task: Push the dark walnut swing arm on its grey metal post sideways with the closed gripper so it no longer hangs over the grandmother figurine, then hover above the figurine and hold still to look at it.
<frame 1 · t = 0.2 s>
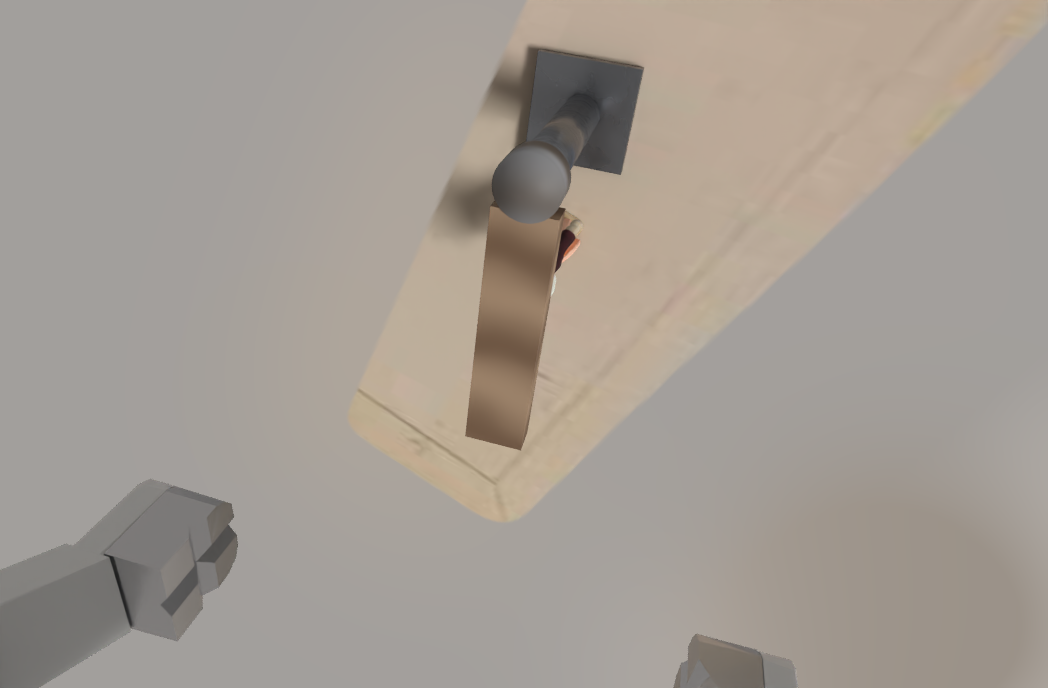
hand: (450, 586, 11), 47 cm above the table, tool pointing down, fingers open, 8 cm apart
swing arm: (514, 309, 42), point 19 cm above the table, hinge at 0.0°
arm post: (582, 111, 53), on the table
grandmother figurine: (562, 228, 59), on the table
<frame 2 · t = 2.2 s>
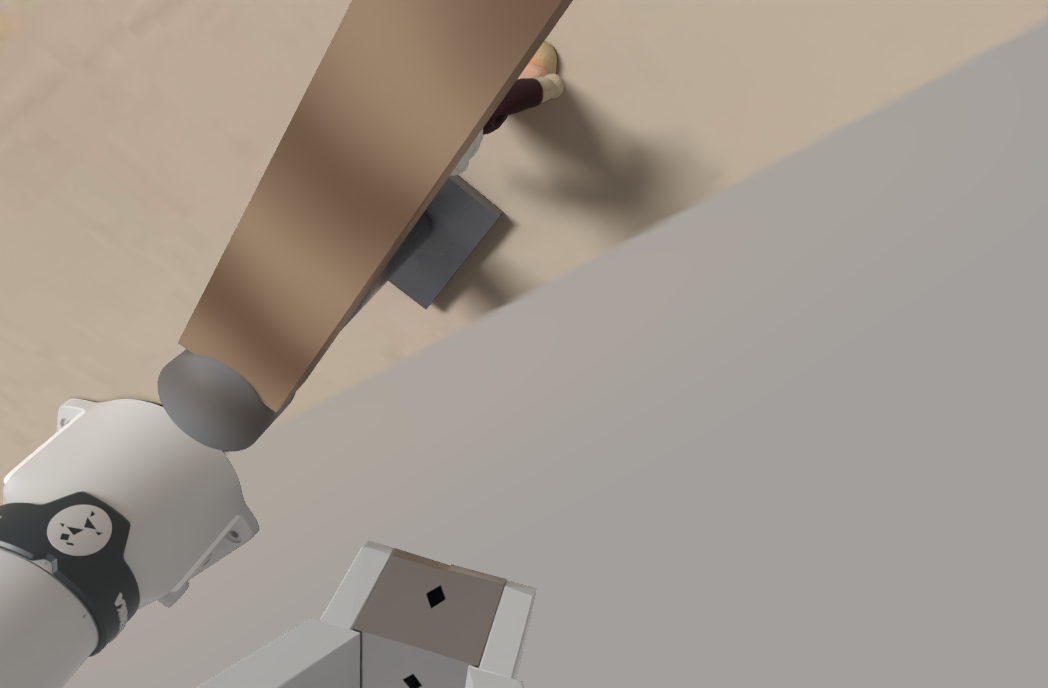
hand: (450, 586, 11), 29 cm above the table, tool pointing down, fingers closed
swing arm: (326, 228, 20), point 19 cm above the table, hinge at 0.0°
arm post: (412, 217, 40), on the table
grandmother figurine: (509, 79, 35), on the table
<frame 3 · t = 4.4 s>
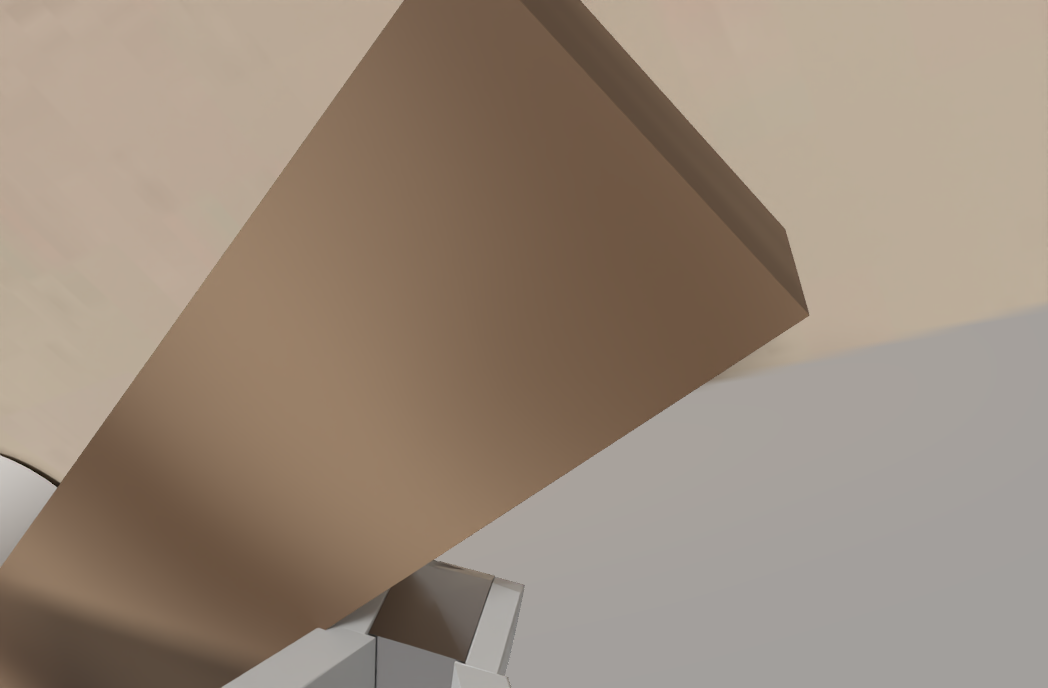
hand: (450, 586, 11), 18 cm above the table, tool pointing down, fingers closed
swing arm: (183, 558, 11), point 18 cm above the table, hinge at 3.5°, touching gripper
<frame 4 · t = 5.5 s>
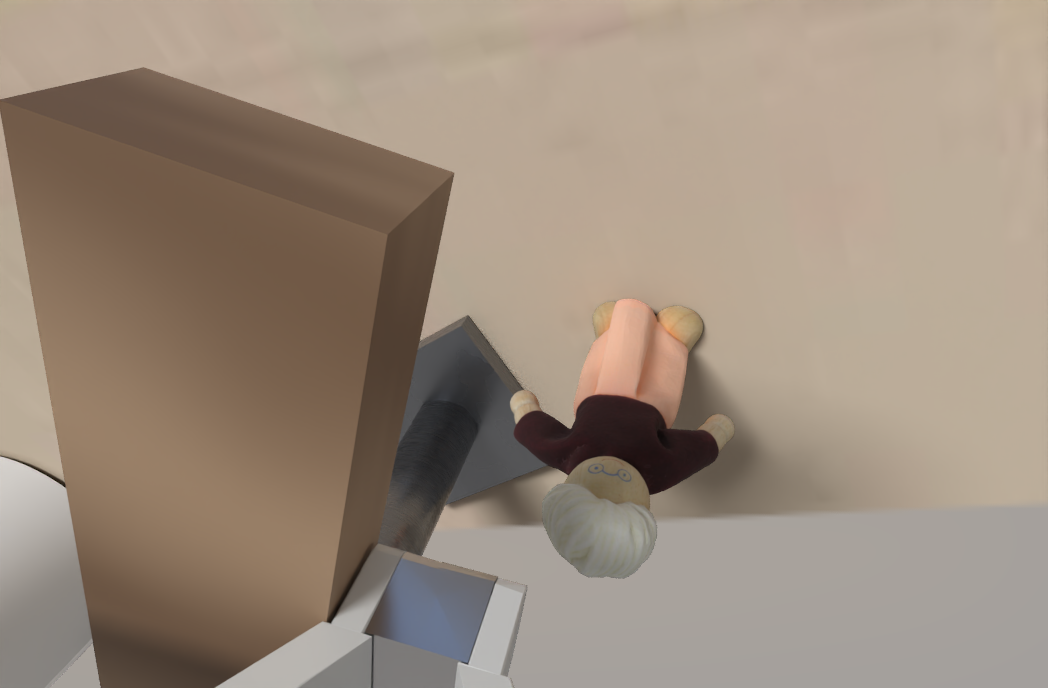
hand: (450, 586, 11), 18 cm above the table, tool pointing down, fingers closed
swing arm: (233, 662, 13), point 19 cm above the table, hinge at 40.3°, touching gripper
arm post: (453, 413, 33), on the table
grandmother figurine: (633, 327, 28), on the table
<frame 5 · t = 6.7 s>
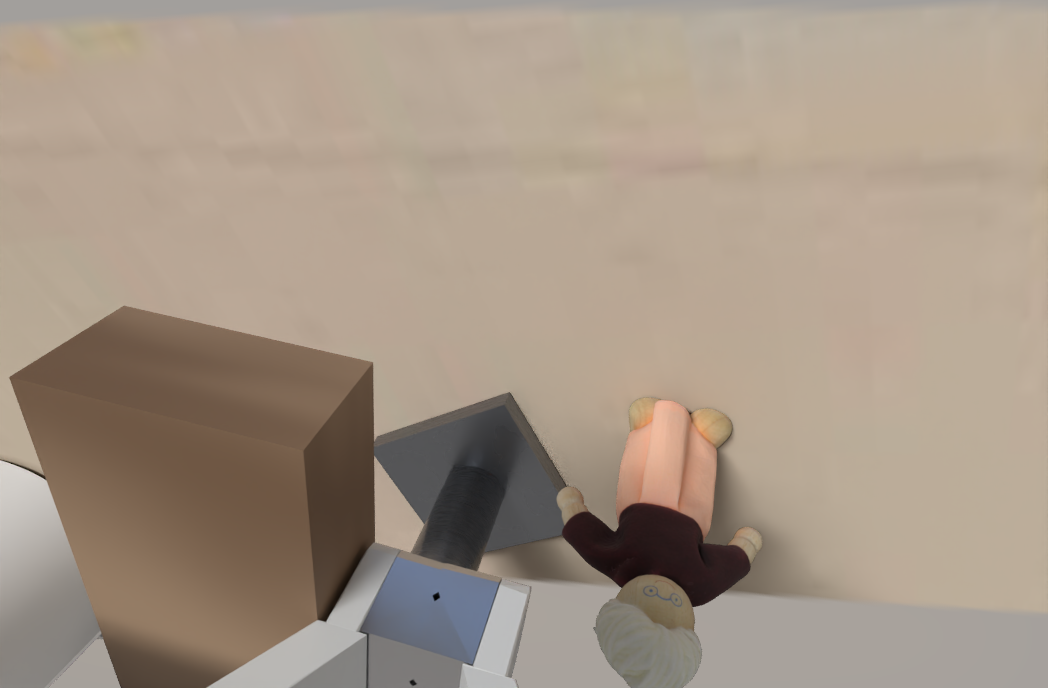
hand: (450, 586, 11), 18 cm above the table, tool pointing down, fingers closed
arm post: (480, 476, 34), on the table
grandmother figurine: (665, 421, 30), on the table
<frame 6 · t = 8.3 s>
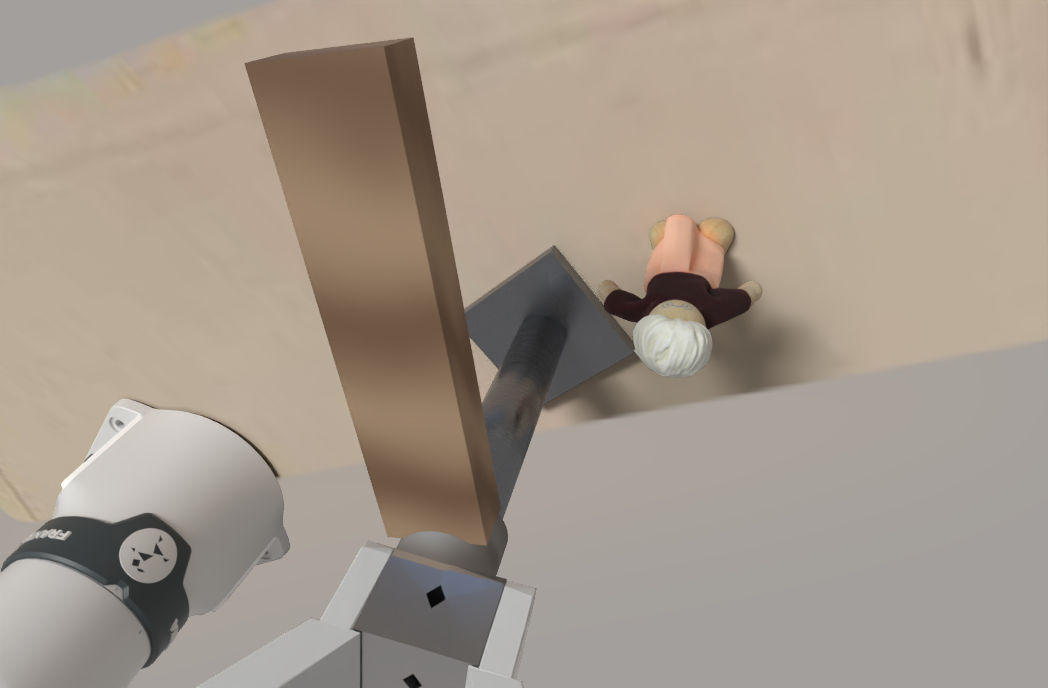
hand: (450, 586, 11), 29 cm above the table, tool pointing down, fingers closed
swing arm: (409, 375, 23), point 19 cm above the table, hinge at 56.7°
arm post: (545, 328, 42), on the table
grandmother figurine: (680, 240, 38), on the table
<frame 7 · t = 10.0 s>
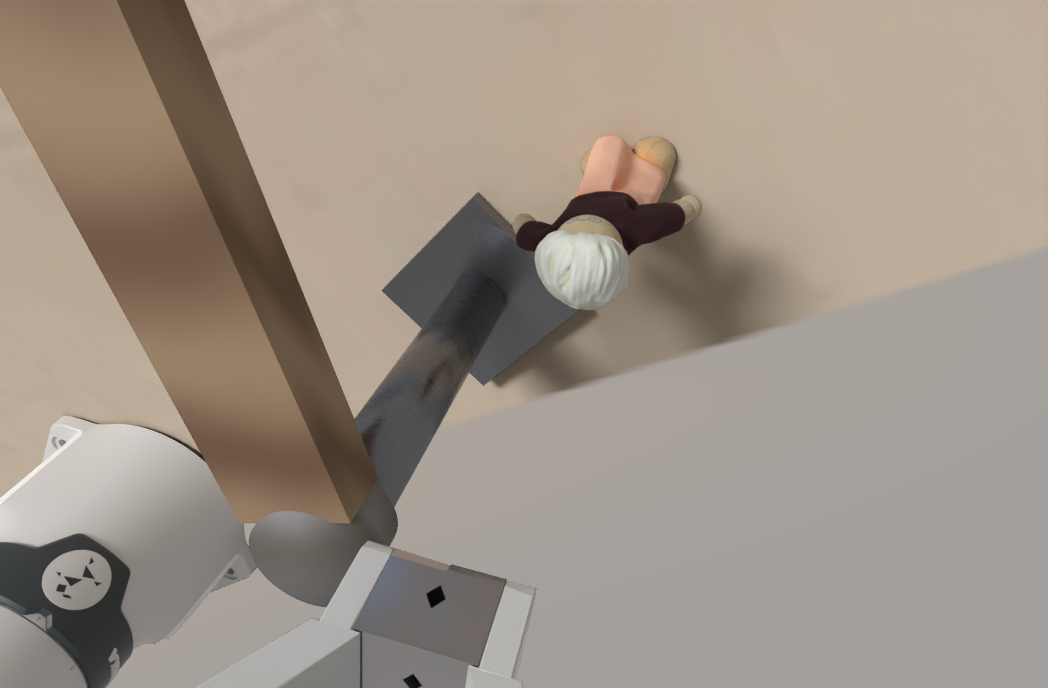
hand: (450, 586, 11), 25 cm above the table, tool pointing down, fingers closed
swing arm: (219, 311, 18), point 19 cm above the table, hinge at 56.7°
arm post: (483, 291, 37), on the table
grandmother figurine: (617, 169, 33), on the table
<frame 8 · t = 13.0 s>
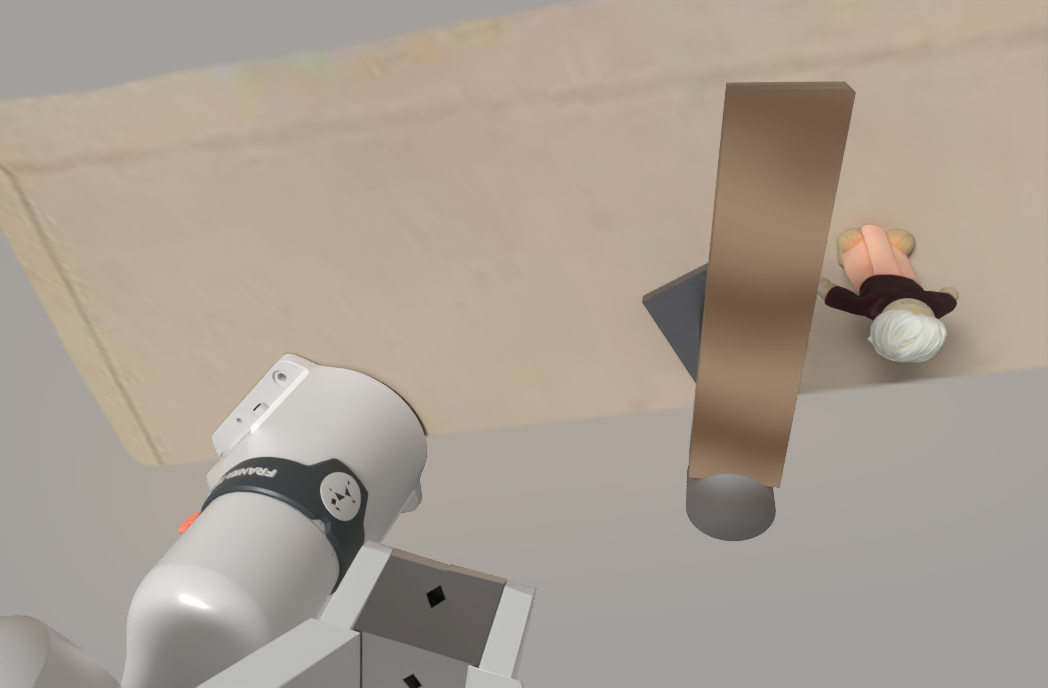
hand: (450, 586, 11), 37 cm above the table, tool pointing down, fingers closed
swing arm: (750, 344, 28), point 18 cm above the table, hinge at 56.7°
arm post: (721, 315, 48), on the table
grandmother figurine: (863, 247, 44), on the table
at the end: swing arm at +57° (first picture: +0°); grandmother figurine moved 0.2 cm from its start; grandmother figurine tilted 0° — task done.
